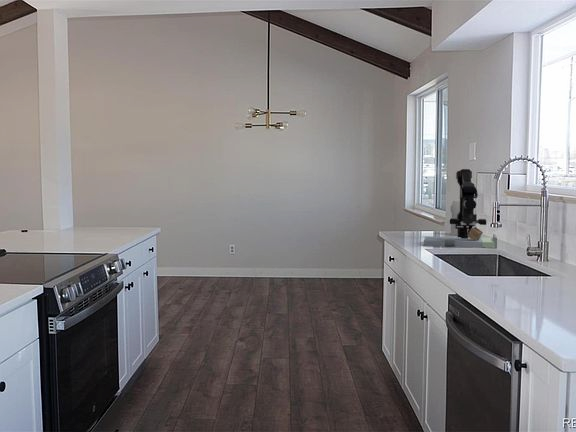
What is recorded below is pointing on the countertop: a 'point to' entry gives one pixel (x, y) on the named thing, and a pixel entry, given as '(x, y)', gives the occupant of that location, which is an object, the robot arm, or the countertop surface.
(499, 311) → the countertop surface
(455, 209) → the tall pale column
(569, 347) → the countertop surface
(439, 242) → the deck
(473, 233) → the block
